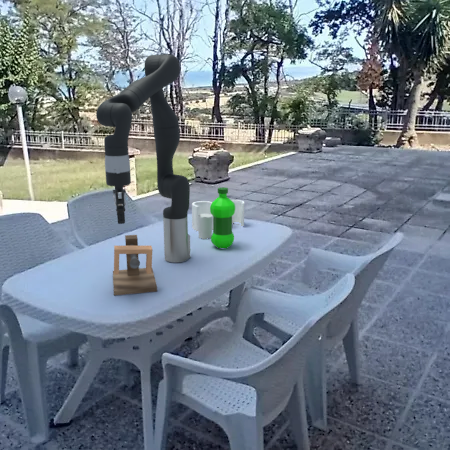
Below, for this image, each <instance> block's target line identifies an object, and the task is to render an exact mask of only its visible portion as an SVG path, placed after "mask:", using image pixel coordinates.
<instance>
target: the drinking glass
mask: <svg viewBox="0 0 450 450" xmlns="http://www.w3.org/2000/svg"><path fill="white" fill-rule="evenodd" d="M212 216H213V215H211V214H199V215H198V238H199V239H200V238H202V239H201V240H208V239H207V238H210V239H211V237H212V234H213V231H212Z"/></svg>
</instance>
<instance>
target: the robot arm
mask: <svg viewBox="0 0 450 450" xmlns="http://www.w3.org/2000/svg"><path fill="white" fill-rule="evenodd" d="M143 68H144V76H143V77H142V78H139V79H137V80H135V81H133V82H131V83H130V84H129V85H127V86H126V87H125V88H124V89H123V90H122V91H120V93H117V94H116V95H113V96H112V97H110V98H108V99H105V100H104V101H103V102H101V104H99V106H98V107H97V109H96V113H95V114H96V115H95V117H96V120H97V121H98V123H99V124H100V125H101V126H104V127H110V128H111V127H112V128H115V129H114V133H113V134H109V135H106V136H105V137H104V141H103V143H104V169H105V171H104V172H105V181H106V182H105V183H106V185H107V186H108V187H114V189H112V197H113V200H114V201H113V202H114V206H115V207H116V209H115V211H116V217H117V224H118V225H122V224H123V225H124V224H126V218H125V217H126V215H125V211H126V207H125V206H126V205H127V201H126V197H127V191H126V189H125V188H124V186H125V187H126V186H129V185H131V184H132V179H131V178H132V177H131V176H132V175H131V162H130V156H129V155H130V154H129V137H130V131H131V126H132V122H133V114H132V113H134V112H136V111H138V109H139V108H140V107H141V106H143V104H145V102H146V101H148V100H150V109H151V116H152V126H153V127H152V128H153V137H154V142H155V143H154V145H155V153H156V154H155V155H156V178H157V179H156V180H157V181H156V184H157V190H158V193H159V195H160V196H161V197H163V198H166V199H171V204H170V206H166V207H165V208H163V211H162V214H163V215H162V216H163V217H162V219H163V220H162V221H163V222H162V223H163V246H164V247H163V248H164V249H163V250H164V261H166V262H167V263H183V262H187V260H189V259H191V235H190V234H189V229H188V227H189V226H188V223H189V221H188V218H189V217H188V212H189V210H190V196H191V195H190V194H191V193H190V191H191V188H190V187H191V186H190V182H189V179H188V177H186V176H185V175H181V174H175V173H174V164H173V160H174V156H175V153H176V152H177V149H178V146H179V143H180V141H181V140H180V139H181V133H180V124H179V123H180V122H179V119H178V116H177V114H176V113H175V111H174V109H173V108H172V107H171V105H170V104H169V101H168V100H167V99H166V97H165V93H164V88H165V87H167V86H169V85H171V84H172V83H173V82H175V81H177V79H178V78H179V75H180V71H181V65H180V61H179V60H178V58H177V57H176V56H175V55H173V54H169V53H167V54H165V53H164V54H151V55H148V56H147V57H146V58H145V61H144V67H143Z"/></svg>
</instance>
